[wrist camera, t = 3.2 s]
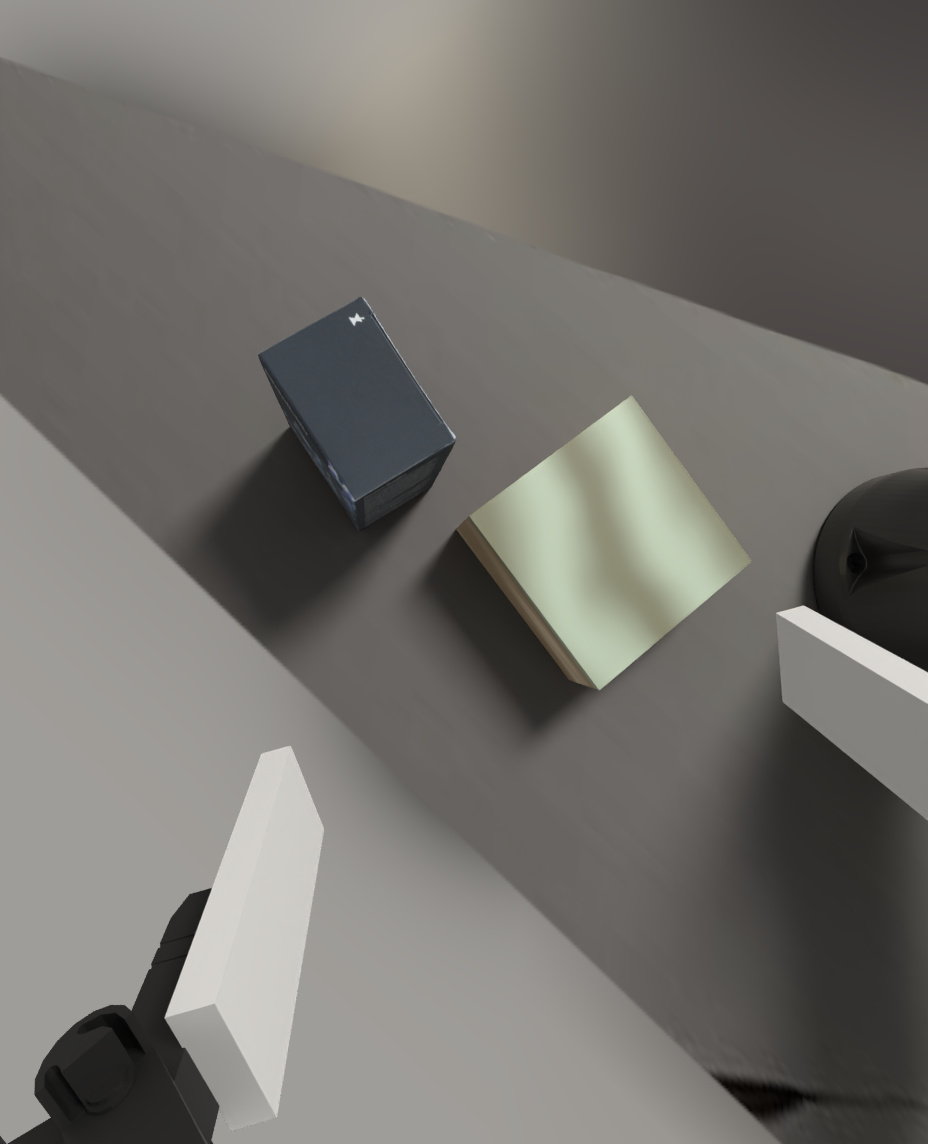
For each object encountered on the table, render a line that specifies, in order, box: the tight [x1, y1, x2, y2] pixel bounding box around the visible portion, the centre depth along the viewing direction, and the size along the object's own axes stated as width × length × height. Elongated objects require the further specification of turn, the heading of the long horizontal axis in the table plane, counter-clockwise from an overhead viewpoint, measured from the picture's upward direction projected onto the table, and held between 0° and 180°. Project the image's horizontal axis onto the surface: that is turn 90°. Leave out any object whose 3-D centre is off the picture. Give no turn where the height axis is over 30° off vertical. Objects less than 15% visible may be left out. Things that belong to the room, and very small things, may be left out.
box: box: [258, 297, 456, 531], centre depth 31 cm, size 8×6×11 cm
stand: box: [456, 396, 752, 690], centre depth 36 cm, size 12×12×5 cm
